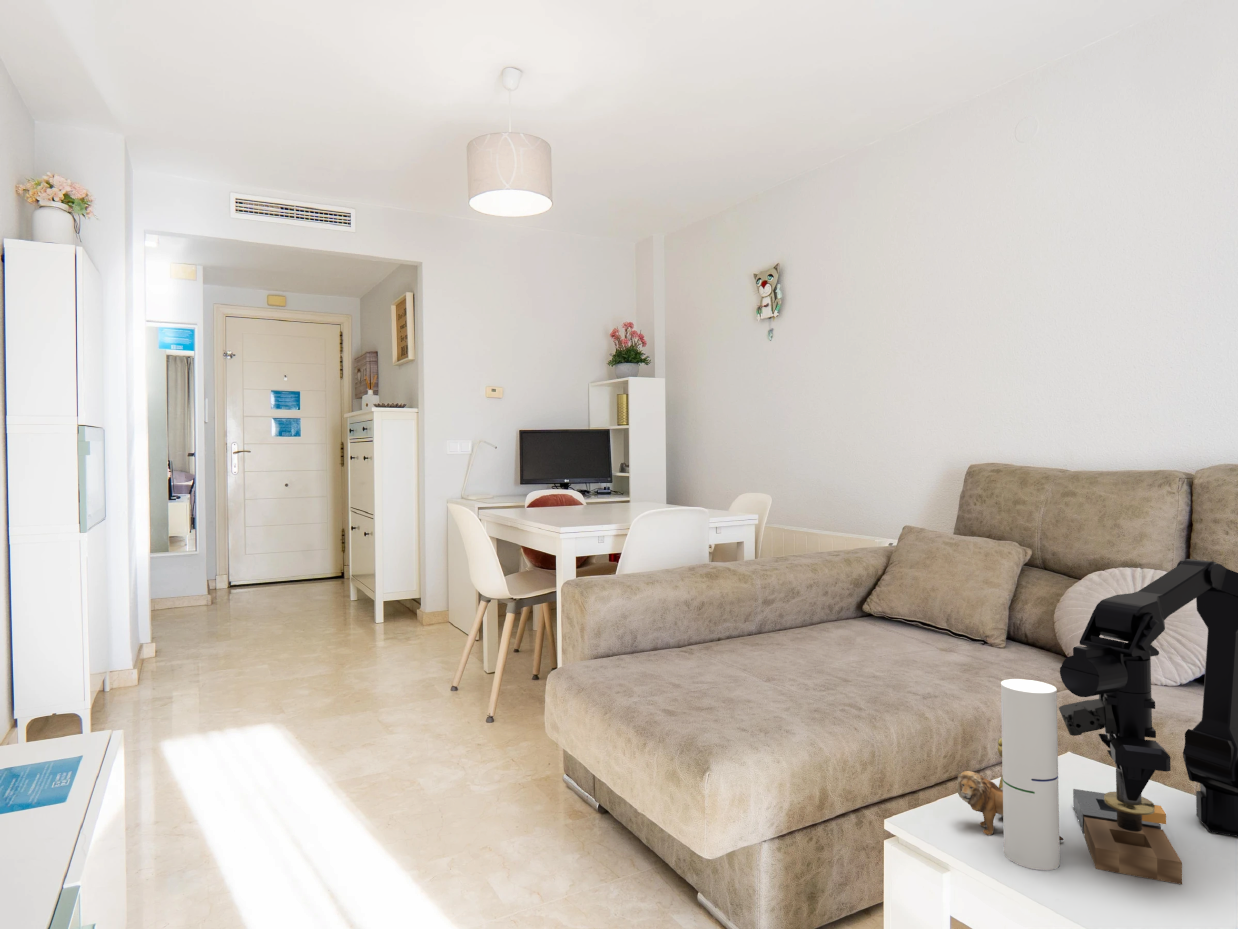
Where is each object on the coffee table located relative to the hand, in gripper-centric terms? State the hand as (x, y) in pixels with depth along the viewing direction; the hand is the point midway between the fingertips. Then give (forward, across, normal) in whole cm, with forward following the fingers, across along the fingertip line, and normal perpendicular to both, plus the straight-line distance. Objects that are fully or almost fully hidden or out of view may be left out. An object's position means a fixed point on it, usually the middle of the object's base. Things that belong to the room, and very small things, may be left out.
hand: (1129, 795), depth 106 cm
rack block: (+9, 0, 0) cm, 9 cm away
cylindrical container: (+9, +5, -13) cm, 17 cm away
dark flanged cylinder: (+4, 0, 0) cm, 5 cm away
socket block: (+9, -11, 0) cm, 14 cm away
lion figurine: (+9, -1, -16) cm, 19 cm away
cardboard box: (+5, -6, +4) cm, 9 cm away
